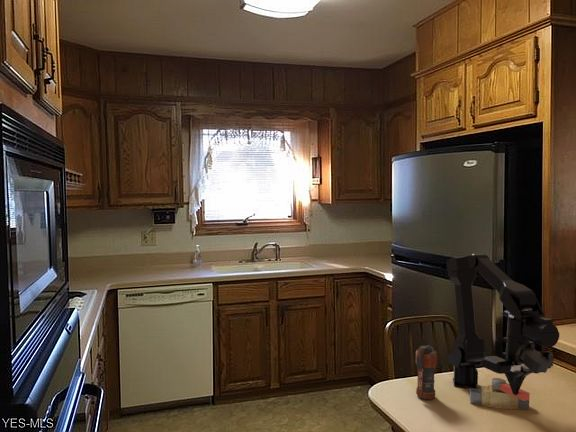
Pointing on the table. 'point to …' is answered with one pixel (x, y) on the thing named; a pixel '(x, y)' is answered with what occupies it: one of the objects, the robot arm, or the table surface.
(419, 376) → the grenade
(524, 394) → the lever
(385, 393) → the table surface
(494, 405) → the valve pipe
